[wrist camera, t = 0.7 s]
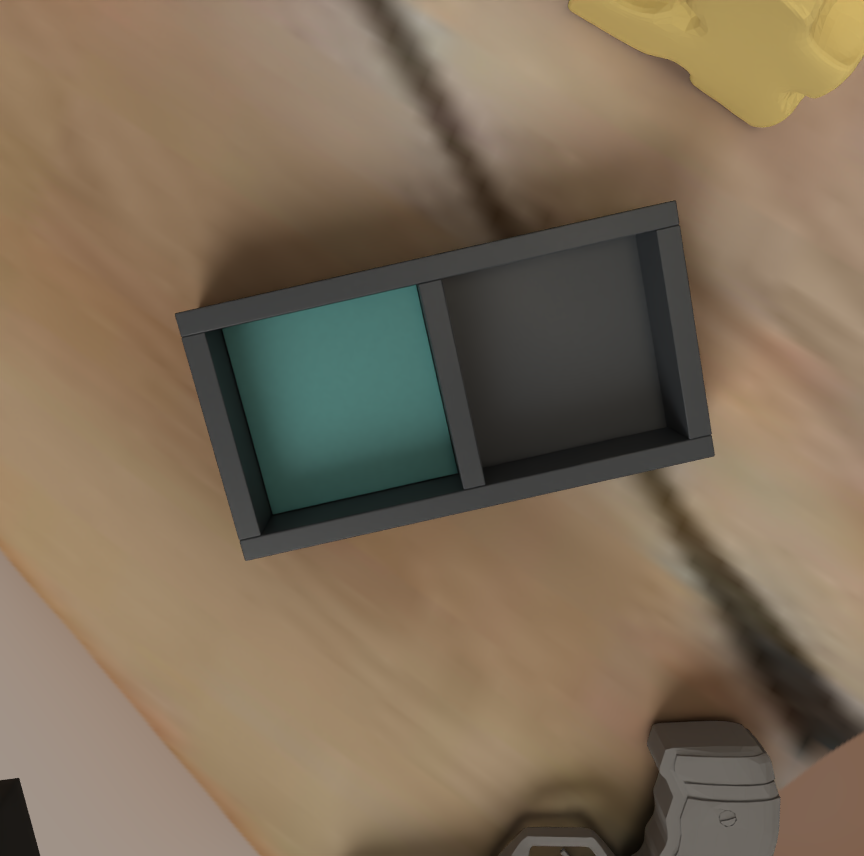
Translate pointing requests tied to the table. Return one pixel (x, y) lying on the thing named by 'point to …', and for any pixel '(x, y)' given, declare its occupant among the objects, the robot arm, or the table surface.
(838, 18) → the cheese
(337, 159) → the table surface
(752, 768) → the revolver
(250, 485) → the box
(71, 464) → the table surface
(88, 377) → the table surface
